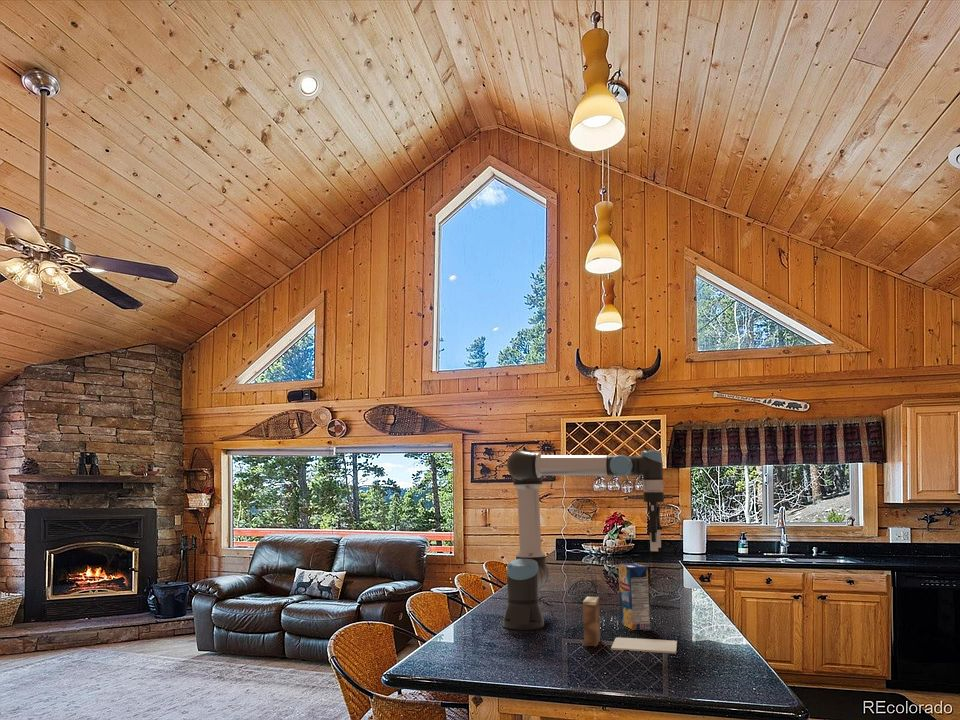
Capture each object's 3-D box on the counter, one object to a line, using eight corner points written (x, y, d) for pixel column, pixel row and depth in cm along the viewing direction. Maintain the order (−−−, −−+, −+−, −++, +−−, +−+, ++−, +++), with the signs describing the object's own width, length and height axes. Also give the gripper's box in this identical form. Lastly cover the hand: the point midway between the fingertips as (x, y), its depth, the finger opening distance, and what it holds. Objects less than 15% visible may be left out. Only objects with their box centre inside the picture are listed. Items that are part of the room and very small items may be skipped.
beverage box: (632, 631, 249) (630, 567, 253) (620, 624, 260) (618, 563, 263) (650, 630, 250) (647, 566, 254) (637, 623, 261) (635, 563, 265)
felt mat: (611, 649, 223) (611, 647, 223) (615, 639, 237) (615, 637, 237) (676, 653, 217) (676, 651, 217) (677, 642, 231) (676, 640, 232)
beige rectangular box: (584, 646, 228) (582, 601, 230) (588, 639, 237) (587, 596, 239) (596, 647, 227) (595, 602, 229) (600, 640, 236) (598, 596, 238)
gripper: (661, 492, 252) (663, 553, 248) (666, 490, 275) (668, 546, 272) (639, 492, 254) (642, 552, 251) (646, 490, 277) (648, 545, 274)
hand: (655, 549), depth 261 cm, fingers open, 13 cm apart
